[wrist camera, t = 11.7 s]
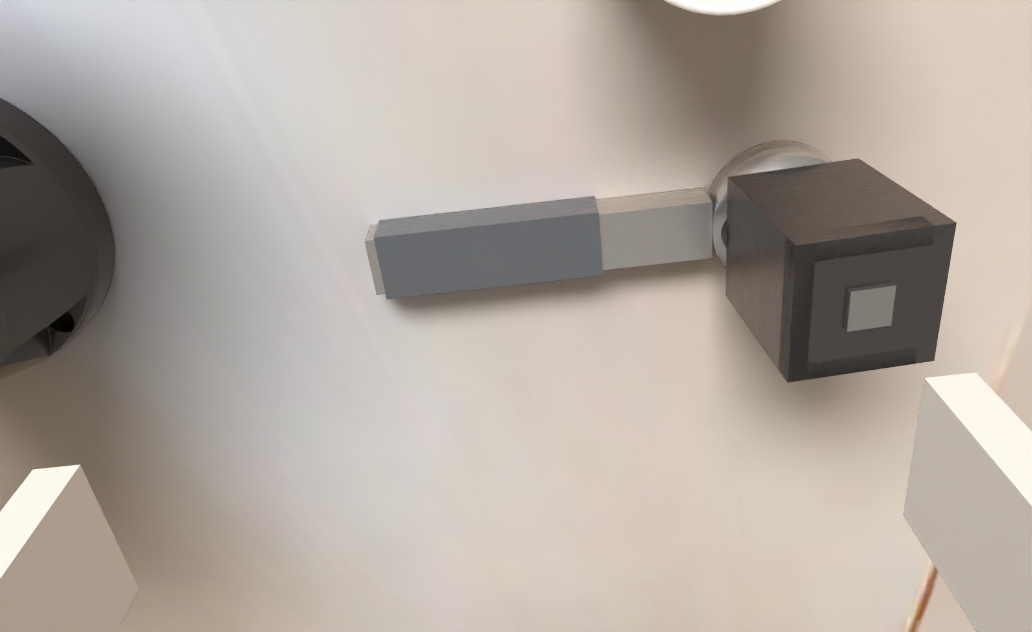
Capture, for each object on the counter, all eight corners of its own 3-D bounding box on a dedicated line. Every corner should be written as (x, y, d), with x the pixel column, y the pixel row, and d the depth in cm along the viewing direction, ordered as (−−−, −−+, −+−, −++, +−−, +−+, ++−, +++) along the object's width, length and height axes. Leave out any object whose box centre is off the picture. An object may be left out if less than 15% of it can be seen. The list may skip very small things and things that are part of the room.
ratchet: (388, 310, 44) (372, 376, 38) (362, 188, 41) (340, 240, 35) (835, 262, 43) (886, 321, 37) (846, 133, 40) (905, 177, 34)
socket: (725, 294, 40) (789, 385, 33) (727, 176, 38) (798, 248, 30) (847, 277, 41) (937, 364, 33) (858, 158, 38) (959, 225, 30)
